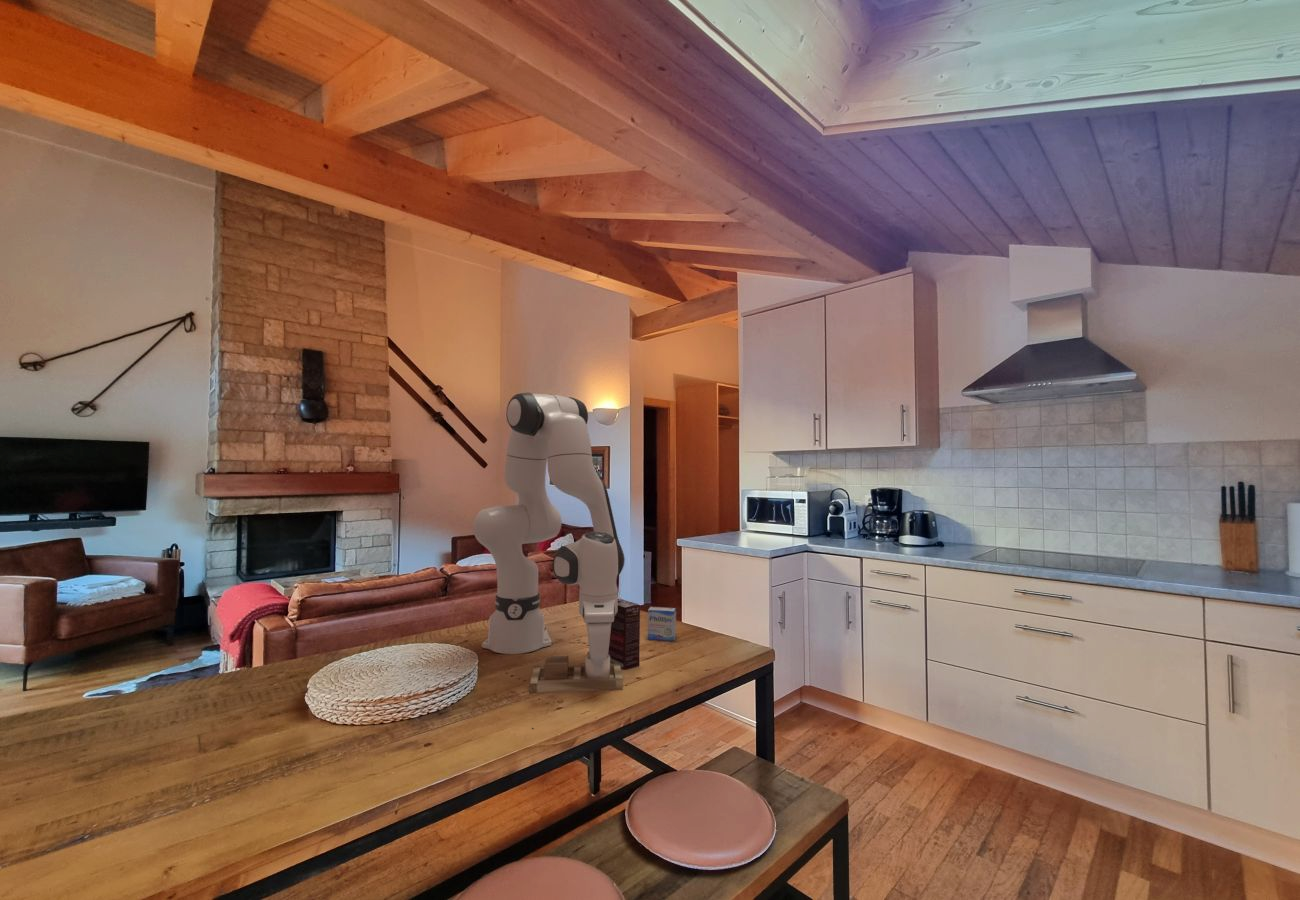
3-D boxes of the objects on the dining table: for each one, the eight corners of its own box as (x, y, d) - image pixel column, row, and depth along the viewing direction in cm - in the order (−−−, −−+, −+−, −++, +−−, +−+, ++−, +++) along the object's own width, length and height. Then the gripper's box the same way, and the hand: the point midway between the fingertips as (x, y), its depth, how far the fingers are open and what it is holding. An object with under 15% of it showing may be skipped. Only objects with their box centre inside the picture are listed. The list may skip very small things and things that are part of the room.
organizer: (534, 679, 123) (534, 666, 123) (619, 676, 125) (619, 663, 126) (529, 697, 113) (529, 683, 113) (622, 693, 115) (622, 680, 116)
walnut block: (546, 678, 121) (546, 656, 121) (568, 677, 122) (568, 655, 122) (544, 687, 116) (544, 664, 116) (567, 686, 117) (567, 663, 117)
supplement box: (640, 669, 130) (641, 604, 130) (624, 674, 127) (625, 607, 127) (619, 659, 136) (620, 597, 137) (604, 663, 133) (605, 600, 134)
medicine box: (647, 640, 152) (647, 609, 153) (649, 635, 157) (650, 605, 157) (674, 641, 151) (674, 611, 151) (676, 637, 155) (676, 607, 156)
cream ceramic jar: (585, 676, 122) (585, 649, 123) (609, 675, 123) (609, 648, 123) (585, 686, 117) (585, 657, 117) (610, 685, 117) (610, 656, 118)
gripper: (584, 594, 130) (583, 650, 130) (584, 617, 110) (583, 684, 110) (610, 593, 131) (609, 649, 131) (614, 616, 111) (613, 683, 110)
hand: (597, 665), depth 120 cm, fingers open, 8 cm apart
